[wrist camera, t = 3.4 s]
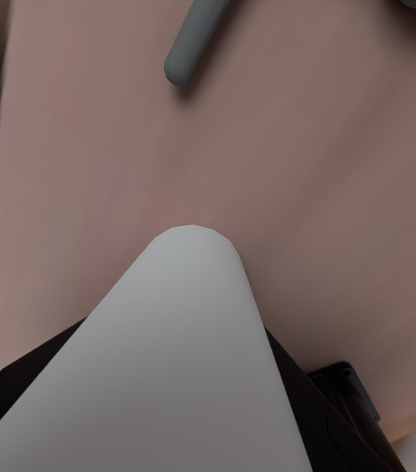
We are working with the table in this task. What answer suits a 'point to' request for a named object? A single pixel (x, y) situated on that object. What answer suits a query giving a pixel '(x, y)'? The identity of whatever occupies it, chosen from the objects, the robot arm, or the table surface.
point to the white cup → (162, 376)
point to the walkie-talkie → (200, 38)
